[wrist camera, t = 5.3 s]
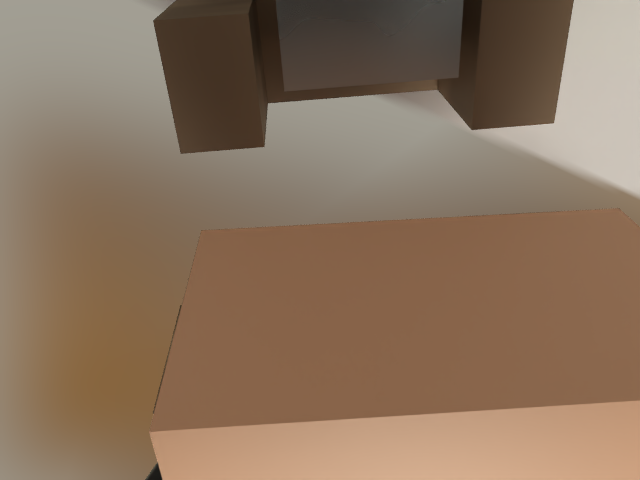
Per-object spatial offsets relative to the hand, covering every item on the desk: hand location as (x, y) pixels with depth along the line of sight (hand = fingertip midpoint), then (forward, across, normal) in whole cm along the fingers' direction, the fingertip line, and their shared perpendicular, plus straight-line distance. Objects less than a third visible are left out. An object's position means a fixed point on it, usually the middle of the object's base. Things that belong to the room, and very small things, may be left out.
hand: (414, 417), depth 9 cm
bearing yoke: (+7, 0, -4) cm, 8 cm away
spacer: (+1, 0, 0) cm, 1 cm away
